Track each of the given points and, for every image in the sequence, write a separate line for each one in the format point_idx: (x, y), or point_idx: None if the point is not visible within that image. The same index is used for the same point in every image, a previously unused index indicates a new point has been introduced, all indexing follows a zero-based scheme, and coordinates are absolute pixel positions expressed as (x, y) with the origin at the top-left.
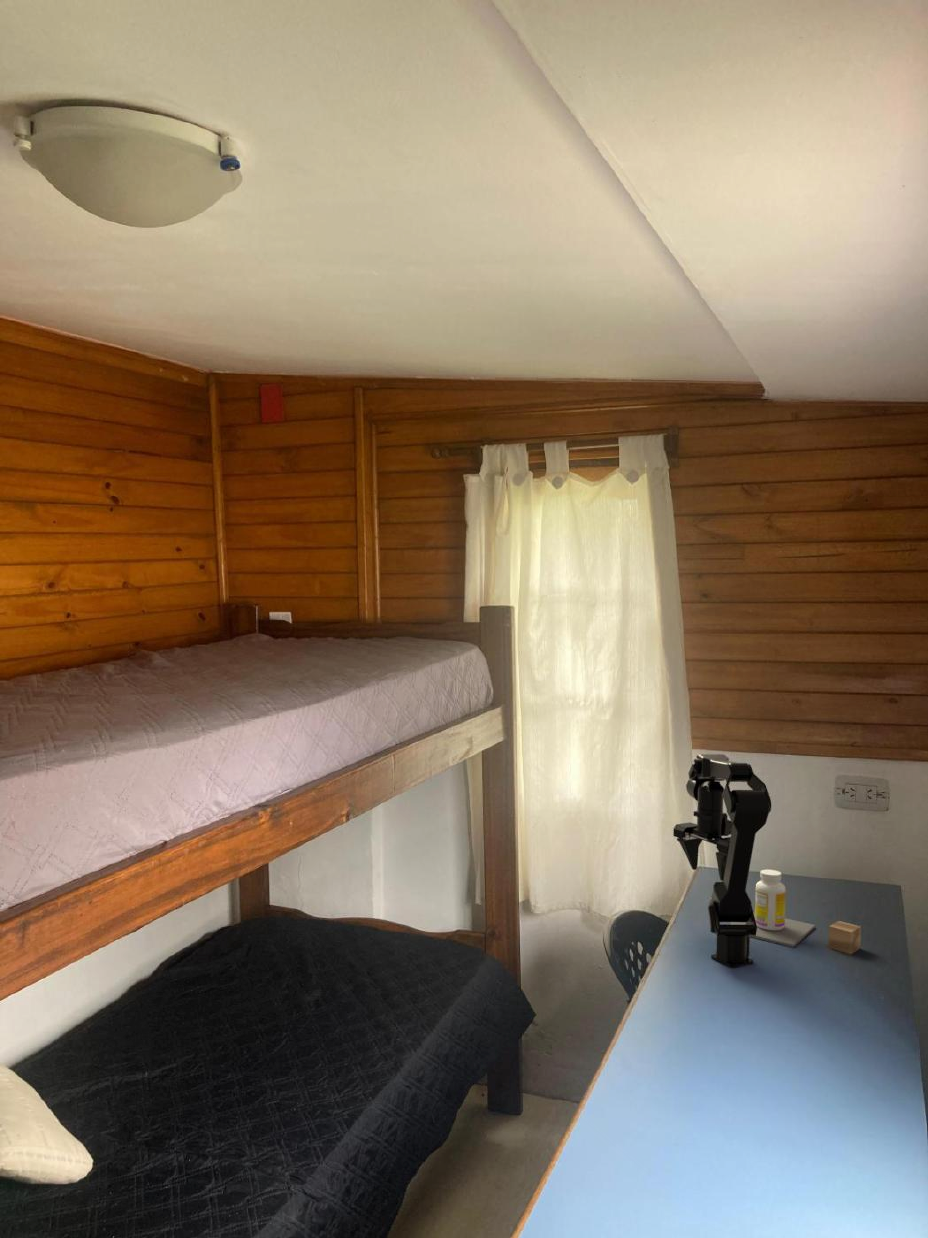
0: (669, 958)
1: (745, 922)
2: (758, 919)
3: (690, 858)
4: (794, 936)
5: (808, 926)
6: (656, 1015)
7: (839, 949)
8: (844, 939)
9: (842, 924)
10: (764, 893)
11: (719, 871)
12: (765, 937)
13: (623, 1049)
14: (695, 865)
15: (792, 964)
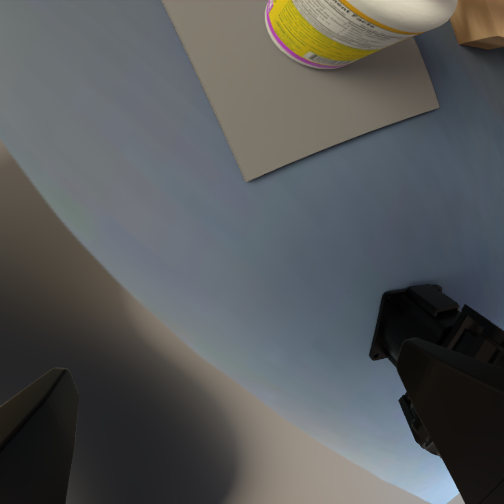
0: (315, 424)
1: (240, 60)
2: (321, 61)
3: (63, 497)
4: (403, 44)
5: None
6: (407, 470)
7: (477, 46)
8: (501, 44)
9: (495, 3)
10: (414, 32)
11: (437, 431)
12: (377, 123)
13: (413, 490)
14: (62, 407)
15: (478, 207)
